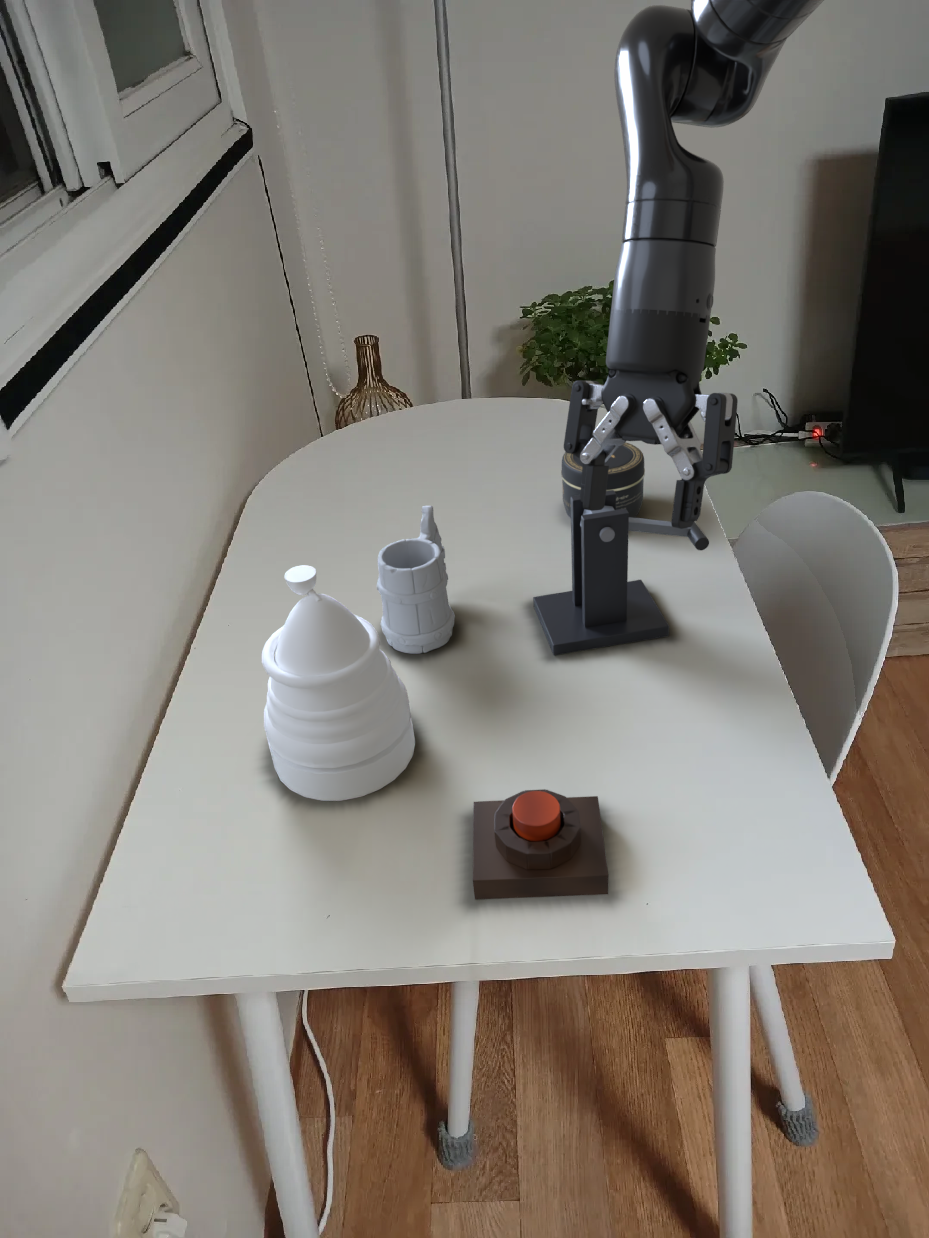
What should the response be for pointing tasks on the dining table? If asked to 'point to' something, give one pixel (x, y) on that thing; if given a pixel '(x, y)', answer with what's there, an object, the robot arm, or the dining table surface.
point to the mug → (415, 590)
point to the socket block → (539, 852)
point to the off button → (536, 816)
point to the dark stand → (599, 589)
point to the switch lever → (662, 528)
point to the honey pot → (333, 700)
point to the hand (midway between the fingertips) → (636, 518)
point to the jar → (610, 478)
